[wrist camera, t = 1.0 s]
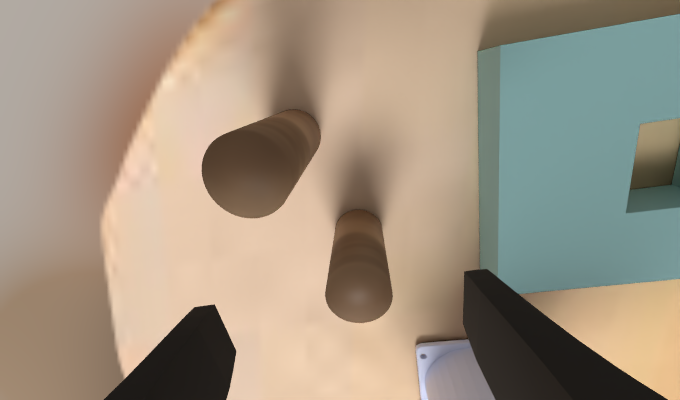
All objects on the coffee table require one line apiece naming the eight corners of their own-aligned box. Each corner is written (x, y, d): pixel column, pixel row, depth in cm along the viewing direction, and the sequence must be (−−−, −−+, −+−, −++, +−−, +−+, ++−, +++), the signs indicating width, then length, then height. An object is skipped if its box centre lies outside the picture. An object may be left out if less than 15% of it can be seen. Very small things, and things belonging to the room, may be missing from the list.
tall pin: (324, 157, 20) (300, 212, 11) (275, 164, 20) (217, 223, 12) (315, 105, 19) (280, 123, 10) (263, 113, 19) (189, 138, 11)
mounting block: (770, 238, 20) (837, 263, 17) (479, 268, 22) (497, 295, 19) (857, -16, 15) (969, -38, 13) (477, 51, 17) (500, 45, 14)
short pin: (384, 249, 22) (395, 319, 15) (339, 254, 22) (331, 325, 16) (379, 206, 21) (388, 263, 14) (331, 212, 21) (319, 270, 15)
